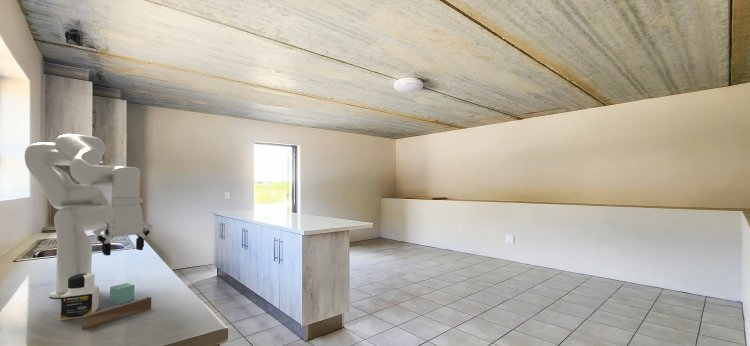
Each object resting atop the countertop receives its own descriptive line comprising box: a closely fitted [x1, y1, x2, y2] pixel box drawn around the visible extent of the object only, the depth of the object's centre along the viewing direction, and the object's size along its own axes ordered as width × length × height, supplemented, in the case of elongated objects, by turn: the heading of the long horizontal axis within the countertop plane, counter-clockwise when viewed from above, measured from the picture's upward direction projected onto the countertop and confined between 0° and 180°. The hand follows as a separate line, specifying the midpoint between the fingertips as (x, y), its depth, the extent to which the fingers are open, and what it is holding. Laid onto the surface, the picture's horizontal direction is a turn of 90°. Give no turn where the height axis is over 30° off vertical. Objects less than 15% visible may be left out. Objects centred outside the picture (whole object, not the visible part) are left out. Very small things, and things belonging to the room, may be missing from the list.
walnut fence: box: [81, 296, 152, 331], centre depth 96 cm, size 2×17×4 cm, turn 153°
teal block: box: [109, 282, 135, 305], centre depth 110 cm, size 5×5×5 cm
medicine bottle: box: [60, 273, 100, 321], centre depth 99 cm, size 7×7×12 cm
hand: (123, 252), depth 110 cm, fingers open, 9 cm apart
